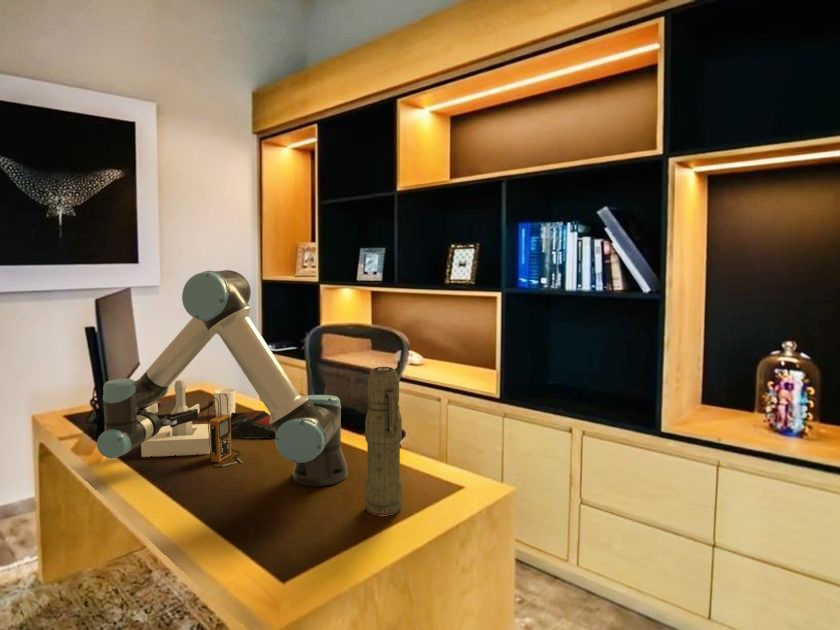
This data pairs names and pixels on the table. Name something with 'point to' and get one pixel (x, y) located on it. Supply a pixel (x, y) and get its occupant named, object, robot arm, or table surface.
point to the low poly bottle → (181, 410)
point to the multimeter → (220, 436)
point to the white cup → (225, 400)
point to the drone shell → (251, 425)
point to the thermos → (383, 442)
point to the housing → (177, 442)
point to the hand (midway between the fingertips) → (177, 407)
